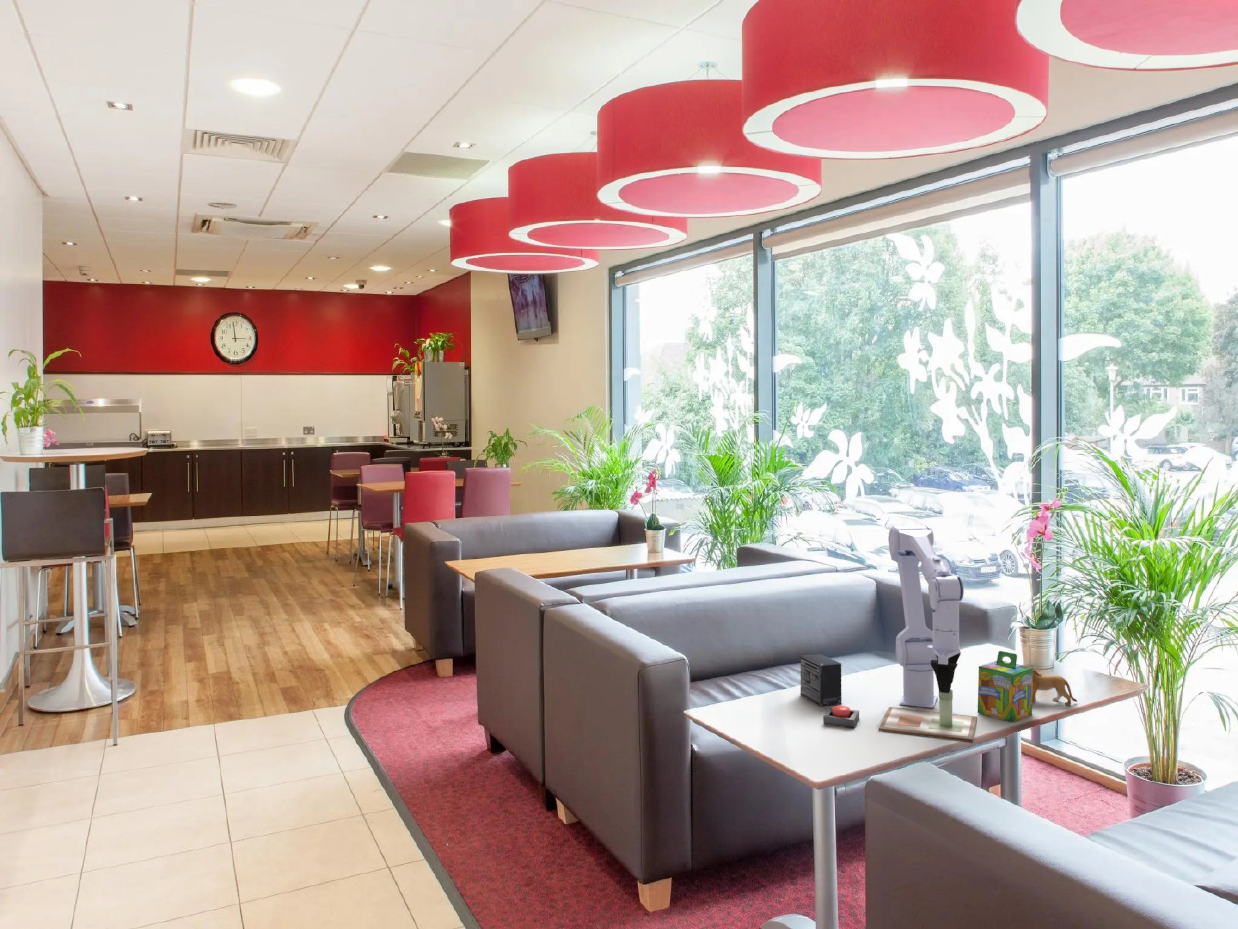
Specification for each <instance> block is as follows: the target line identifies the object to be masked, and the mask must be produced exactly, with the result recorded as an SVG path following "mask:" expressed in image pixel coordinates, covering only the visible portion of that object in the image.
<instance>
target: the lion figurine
mask: <svg viewBox="0 0 1238 929" xmlns="http://www.w3.org/2000/svg"><path fill="white" fill-rule="evenodd" d="M1022 665H1023V664H1022ZM1023 666H1025V665H1023ZM1066 688H1067V691H1066ZM1053 689H1054V690H1055V691H1056V694H1057V695H1056V697H1053V698H1052V700H1053V701H1054V702H1058V701H1060V699H1061V698H1062V697H1063V698H1065V699H1066V700H1067V701H1065V702H1064V705H1065V706H1068V707H1069V706H1071V705H1072V701H1073V702H1074V703H1075V702H1078V700H1077V699H1076V698H1074V697H1073V694H1072V689H1071V687H1070V684H1069V682H1068V681H1067V679H1066V678H1064V677H1063V676H1061V675H1060V676H1059V675H1042V674H1040V673H1039V672H1037V670H1034V669H1033V695H1032V704H1034V703H1035V702H1036V699H1037V698H1036V694H1037V692H1038V691H1044V692H1046V691H1050V690H1053Z"/></svg>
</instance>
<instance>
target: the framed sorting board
mask: <svg viewBox="0 0 1238 929" xmlns="http://www.w3.org/2000/svg"><path fill="white" fill-rule="evenodd" d="M976 724H977V716H975V715H969V714H968V715H967V714H958V713H952V726H951V727H944V726H941V725H940V724H939V711H931V710H930V711H929V710H919V709H913V708H912V709H911V708H902V707H894V706H889V707H888V709H887V710H886V711H885V714H884V716H883V718H882V720H881V722H880V724H879V726H878V731H879V732H884V733H885V732H887V733H895V734H903V735H913V736H919V737H920V736H921V737H928V738H935V739H944V740H954V741H962V742H971V743H973V740H974V735H975V730H976Z"/></svg>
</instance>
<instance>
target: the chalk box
mask: <svg viewBox="0 0 1238 929" xmlns="http://www.w3.org/2000/svg"><path fill="white" fill-rule="evenodd" d="M1005 657H1007V658H1010V661H1006V660H1005V661H1004V660H1003V659H1004V658H1005ZM996 658H997V659H996V660H995V661H992V662H988V663H985V664H982V665H979V666H978V682H977V684H978V685H977V686H978V688H977V713H978V714H983V715H985V716H989V717H993V718H996V719H999V720H1002V721H1006V722H1008V723H1009V722H1010V723H1014V722H1016V721H1017V722H1018V721H1019V720H1021V719H1022V720H1023V719H1024V718H1026V717H1027V718H1028V717H1029V716H1032V714H1033V703H1032V695H1033V670H1034V668H1032V667H1031V666H1027V665H1024V666H1023V664H1018V663H1017V661H1018V655H1017V654H1016V653H1013V652H1007V651H1004V650H1003V651H1002V650H999V651H998V654H997V657H996Z"/></svg>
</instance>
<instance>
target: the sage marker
mask: <svg viewBox="0 0 1238 929" xmlns="http://www.w3.org/2000/svg"><path fill="white" fill-rule="evenodd" d="M953 692H954V691H953V689H951V688H950V692H949V693H942V692H939V691H938V702H939V703H938V705H939V706H938V707H939V709H938V712H939V724H940V725H941V726H944V727H951V726H952V714H953V700H954V697H953V696H954V694H953Z"/></svg>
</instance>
